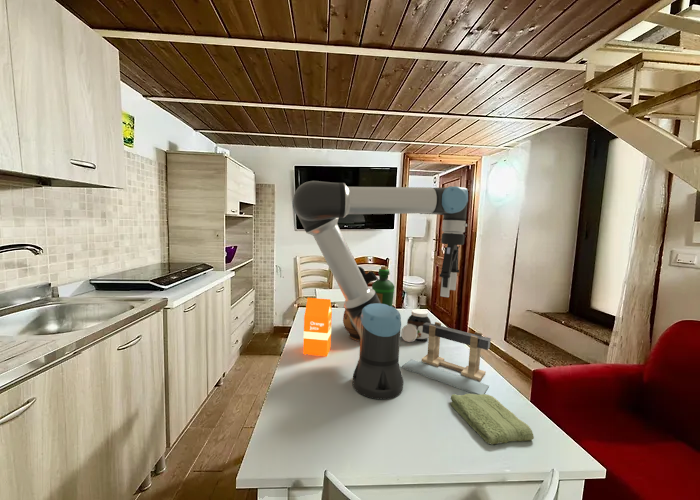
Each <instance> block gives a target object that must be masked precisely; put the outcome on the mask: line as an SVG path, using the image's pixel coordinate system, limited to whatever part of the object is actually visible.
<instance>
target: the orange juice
mask: <svg viewBox="0 0 700 500" xmlns="http://www.w3.org/2000/svg"><path fill="white" fill-rule="evenodd" d="M332 313H333V310H332V301H331V298H317V297H315V298H314V297H307V299H306V305H305V312H304V315H303V347H302V348H303V350H302V351H303V352H302V354H303V355H306V354H308V355H310V356H319V357H328V354H329V352H330V350H331V345H332V344H331V343H332V341H331V340H332V319H333V317H332V316H333V314H332Z"/></svg>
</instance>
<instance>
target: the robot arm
mask: <svg viewBox="0 0 700 500" xmlns="http://www.w3.org/2000/svg"><path fill="white" fill-rule="evenodd" d="M468 191H469V190H468V188H466V187H460V186H455V185H454V186H448V187H424V186H423V187H418V186H417V187H415V186H414V187H413V186H411V187H410V186H409V187H407V186H403V187H402V186H347V185H346V183H345V182H333V181H332V182H330V181H321V180H320V181H319V180H310V181H306V182H303V183H302V184H300V185H299V186H298V187H297V188H296V190H295V192H294V194H293V198H292V208H293V211H294V214H295V215H296V216H297V217H298V220H299V222H300V223H301V225H302V227H303V229H304V231H305V233H306V234H308V235H311V236H313V238H314V241H315V242H316V244H317V246H318V248H319V250H320V252H321V253H322V255H323V258H324V260H325V262H326V264H327V265H328V268H329V269H330V272H331V273H332V276H333V277H334V280H335V282H336V284H337V286H338V287H339V289H340V292H341V293H342V295H343V298H344V303H343V307H344V311H345V310H346V311H347V313H348V315H349V317H350V321H351V323H352V325H353V326H354V327H355V329H356V331H357V332H358V334H359V336H360V341H359V357H358V360H357V361H358V362H357V364H356V366H355V369H354V371H353V373H352V381H351V382H352V388H353V389H354V390H355V391H356V392H357V393H358V394H359V395H362V396H364V397H366V398H369V399H374V400H375V399H376V400H389V399H393V398H394V399H395V398H397V397H398V396H399V395H400V394H401V393H402V392H403V391H404V378H403V375H402V369H401V366H400V362H399V359H400V343H401V331H402V316H401V312H400V311H399V310H398V309H397V308H395V307H394V306H393V305H392V306H388V305H386V304H381V302H380V300H379V298H378V296H377V294H376V292H375V290H373V289H372V288H370V287H369V286H368V285H367V284H366V282H365V280H364V278H363V276H362V274H361V272H360V270H359V268H358V264H357V262H356V260H355V258H354V255H353V253H352V252H351V249H350V247H349V246H348V243H347V242H346V239H345V237H344V235H343V233H342V230H341V229H340V227H339V224H338V223H339V219H344V218H345V217H347V216H348V215H372V214H373V215H385V214H386V215H387V214H391V215H392V214H393V215H395V214H396V215H399V214H403V215H404V214H405V215H406V214H420V215H423V214H424V215H439V216H440V215H441V216H443V218H442V225H441V227H442V228H441V231H442V232H443V233H441V240H440V241H441V243H440V244H443V245H446V246H445V247H444V253H443V259H442V266H441V271H440V273H439V278H441V280H440V281H441V284H440V295H439V296H440V297H443V298H449V297H450V291H456V290H457V289H456V288H457V276H458V273H460V269H459V252H460V251H459V248H460V246H463V245H464V244H465V236H466V235H465V234H464V233H465V232H466V227H468V223H466V222H467V221H466V220H467V212H468V203H469V192H468Z"/></svg>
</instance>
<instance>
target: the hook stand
mask: <svg viewBox="0 0 700 500" xmlns="http://www.w3.org/2000/svg"><path fill="white" fill-rule="evenodd" d="M434 324H435V325H439V326H442V323H441V322H437V321H435V322H434ZM435 331H436V326H432V325H429V338H428V339H427V340H428V343H427V354H425V356H423V357H421V361H420V362H421V363H424V364H427V365H430V366H433V367H436V368H438V367H439V366H442V367H446V368H449V369H450V370H454V371H458V372H460V376H463V377H466V378H468V379H471V380H474V381H477V382H481V381H482V380H483V378H484V377H485V376H486V373H487V372H486V370H482V369H480V362H481V352H482V351H481V348H478V347H477V343H478V337H476V336H472V335H471V340H470V345H469V357H468V365H466V366H462V365H459V364H456V363H455V364H454V363H452V362H449V361H446V360H445V358H444V357H441V356H440V343H441V337H437V336H435ZM474 334H475V335H479V336H483V332H479V331H475V332H474Z"/></svg>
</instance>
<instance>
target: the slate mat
mask: <svg viewBox="0 0 700 500" xmlns="http://www.w3.org/2000/svg"><path fill="white" fill-rule="evenodd" d="M401 368H402V369H404V370H407V371H410V372H412V373H414V374H415V373H416V374H418V375H421V376H423V377H426V378H429V379H432V380H434V381H438V382H439V383H442V384H444V385H448V386H451V387H454V388H456V389H459V390H461V391H464V392H467V393H469V394H477V395H480V394H486V392H487V391H488V390H489V388H490V385H489V384H485V383H484V382H483V383H482V382H481V381H478V380H475V379H472V378H469V377H466V376H463V375H461V374H460V375H459V374H456V373H454V372H451V371H448V370H444V369H441V368H438V367H436V366H433V365H430V364H427V363H424V362H422V361H418V360H416V359H412V358H410V360H408V361H406V362H405V363H404V364H402V365H401Z"/></svg>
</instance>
